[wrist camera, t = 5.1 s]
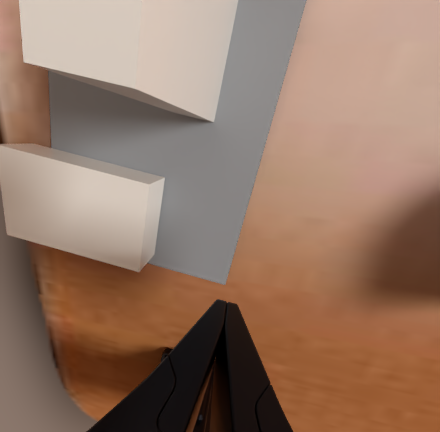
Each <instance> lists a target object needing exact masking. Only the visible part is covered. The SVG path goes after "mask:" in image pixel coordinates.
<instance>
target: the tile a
mask: <svg viewBox="0 0 440 432" xmlns="http://www.w3.org/2000/svg"><path fill="white" fill-rule="evenodd" d="M164 181H165V177H161V176H157V175H154V174H150V173H146V172H142V171H138V170H134V169H130V168H126V167H123V166H119V165H115V164H111V163H107V162H103V161H99V160H95V159H92V158H88V157H84V156H80V155H76V154H72V153H68V152H64V151H61V150H57V149H53V148H49V147H45V146H41V145H37V144H33V143H30V144H0V185H1V193H2V201H3V209H4V217H5V224H6V232H7V235H10V236H13V237H17V238H21V239H24V240H27V241H31V242H34V243H38V244H41V245H45V246H49V247H52V248H56V249H59V250H63V251H66V252H70V253H73V254H77V255H80V256H84V257H87V258H91V259H94V260H98V261H101V262H105V263H108V264H112V265H115V266H119V267H122V268H126V269H129V270H133V271H136V272H140V271H141V270H142V268H143V267H144V266H145V265H146V264H147V262H148V261H149V260H150V259H151V258H152V257H153V255H154V253H155V246H156V239H157V232H158V225H159V217H160V210H161V203H162V196H163V189H164Z"/></svg>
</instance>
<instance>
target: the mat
mask: <svg viewBox="0 0 440 432" xmlns="http://www.w3.org/2000/svg"><path fill="white" fill-rule="evenodd" d="M305 4H306V0H238V5H237V10H236V15H235V20H234V25H233V30H232V35H231V40H230V45H229V50H228V55H227V60H226V65H225V70H224V75H223V80H222V85H221V90H220V95H219V100H218V105H217V110H216V115H215V120H214V122H210V121H206V120H202V119H198V118H194V117H190V116H185V115H181V114H177V113H174V112H171V111H168V110H165V109H162V108H159V107H156V106H153V105H150V104H147V103H144V102H141V101H138V100H135V99H132V98H129V97H126V96H123V95H120V94H117V93H114V92H111V91H108V90H105V89H102V88H99V87H96V86H93V85H90V84H87V83H84V82H81V81H78V80H75V79H72V78H69V77H66V76H63V75H60V74H57V73H54V72H51V71H48V78H49V102H50V125H51V148H53V149H57V150H61V151H64V152H68V153H72V154H76V155H80V156H84V157H88V158H92V159H95V160H99V161H103V162H107V163H111V164H115V165H119V166H123V167H126V168H130V169H134V170H138V171H142V172H146V173H150V174H154V175H157V176H161V177H165V181H164V189H163V196H162V203H161V210H160V217H159V225H158V232H157V239H156V246H155V253H154V255H153V257H152V258H151V259H150V260H149V261H148V262H147V263H149V264H152V265H156V266H159V267H163V268H167V269H170V270H174V271H177V272H181V273H184V274H188V275H191V276H195V277H199V278H202V279H206V280H209V281H213V282H216V283H220V284H223V285H225V284H226V280H227V277H228V273H229V270H230V266H231V263H232V259H233V256H234V252H235V249H236V245H237V242H238V238H239V235H240V231H241V228H242V224H243V221H244V217H245V214H246V210H247V207H248V203H249V200H250V196H251V193H252V189H253V186H254V182H255V179H256V175H257V172H258V168H259V165H260V161H261V158H262V154H263V151H264V147H265V144H266V140H267V137H268V133H269V130H270V126H271V123H272V119H273V116H274V112H275V109H276V105H277V102H278V98H279V95H280V91H281V88H282V84H283V81H284V77H285V74H286V70H287V67H288V63H289V60H290V56H291V53H292V49H293V46H294V42H295V39H296V35H297V32H298V28H299V25H300V21H301V18H302V14H303V11H304V7H305Z"/></svg>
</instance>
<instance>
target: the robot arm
mask: <svg viewBox="0 0 440 432" xmlns="http://www.w3.org/2000/svg"><path fill="white" fill-rule="evenodd" d="M215 357H216V358H215ZM214 361H215V363H214ZM87 432H293V430H292V428H291V426H290V424H289V422H288V420H287V419H286V417H285V414H284V412H283V410H282V408H281V406H280V403H279V401H278V399H277V397H276V394H275V392H274V390H273V387H272V385H270V380H269V378H268V376H267V373H266V371H265V369H264V366H263V364H262V361H261V359H260V357H259V354H258V352H257V350H256V347H255V345H254V343H253V340H252V338H251V336H250V333H249V331H248V328H247V326H246V324H245V321H244V319H243V317H242V314H241V312H240V310H239V307H238V305H237V304H235V303H231V302H228V303H227V302H226V301H223V300H219V299H218V300H216V301H215V302H214V303H213V305H212V306H211V307H210V308H209V309H208V310H207V311H206V312H205V314H204V315H203V316H202V317H201V318H200V319H199V320H198V321H197V323H196V324H195V325H194V326H193V327H192V328H191V329H190V330H189V332H188V333H187V334H186V335H185V336H184V337H183V338H182V340H181V341H180V342H179V343H178V344H177V345H176V346H175V347H174V349H173V350H169V349H166V350H164V352H163V355H162V359H161V363H160V364H159V365H158V366H157V367H156V368H155V370H154V371H153V372H152V373H151V374H150V375H149V376H148V377H147V378H146V379H145V380H144V381H143V382H142V383H140V384H139V385H138V386H137V387H136V388H135V389H134V390H133V391H132V392H131V393H130V394H129V395H127V396H126V397H125V398H124V399H123V400H122V401H121V402H120V403H118V404H117V405H116V406H115V407H114V408H113V409H112V410H111V411H109V412H108V413H107V414H106V415H105V416H104V417H103V418H102V419H101V420H99V421H98V422H97V423H96V424H95V425H94V426H93V427H91V429H89V430H88V431H87Z"/></svg>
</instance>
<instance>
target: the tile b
mask: <svg viewBox="0 0 440 432" xmlns="http://www.w3.org/2000/svg"><path fill="white" fill-rule="evenodd" d="M237 5H238V0H19V8H20V21H21V34H22V47H23V60H24V63H27V64H30V65H33V66H36V67H39V68H42V69H45V70H48V71H51V72H54V73H57V74H60V75H63V76H66V77H69V78H72V79H75V80H78V81H81V82H84V83H87V84H90V85H93V86H96V87H99V88H102V89H105V90H108V91H111V92H114V93H117V94H120V95H123V96H126V97H129V98H132V99H135V100H138V101H141V102H144V103H147V104H150V105H153V106H156V107H159V108H162V109H165V110H168V111H171V112H174V113H177V114H181V115H185V116H190V117H194V118H198V119H202V120H206V121H210V122H214V120H215V115H216V110H217V105H218V100H219V95H220V90H221V85H222V80H223V75H224V70H225V65H226V60H227V55H228V50H229V45H230V40H231V35H232V30H233V25H234V20H235V15H236V10H237Z"/></svg>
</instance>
